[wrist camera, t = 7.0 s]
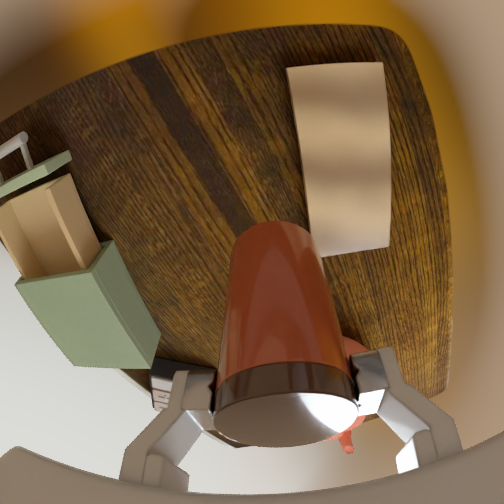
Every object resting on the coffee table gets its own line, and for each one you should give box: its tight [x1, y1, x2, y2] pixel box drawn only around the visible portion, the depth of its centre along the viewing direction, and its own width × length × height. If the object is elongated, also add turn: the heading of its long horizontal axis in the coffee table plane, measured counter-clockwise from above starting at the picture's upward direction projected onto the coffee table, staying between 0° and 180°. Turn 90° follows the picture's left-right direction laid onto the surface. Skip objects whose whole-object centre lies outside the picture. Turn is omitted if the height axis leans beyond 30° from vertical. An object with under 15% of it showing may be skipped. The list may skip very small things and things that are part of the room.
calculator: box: [149, 357, 217, 412], centre depth 49 cm, size 11×4×15 cm
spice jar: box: [212, 221, 359, 447], centre depth 12 cm, size 5×5×9 cm
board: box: [285, 62, 391, 257], centre depth 28 cm, size 20×9×2 cm, turn 11°
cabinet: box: [15, 240, 161, 369], centre depth 36 cm, size 17×15×7 cm
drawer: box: [0, 131, 102, 280], centre depth 28 cm, size 20×13×5 cm
